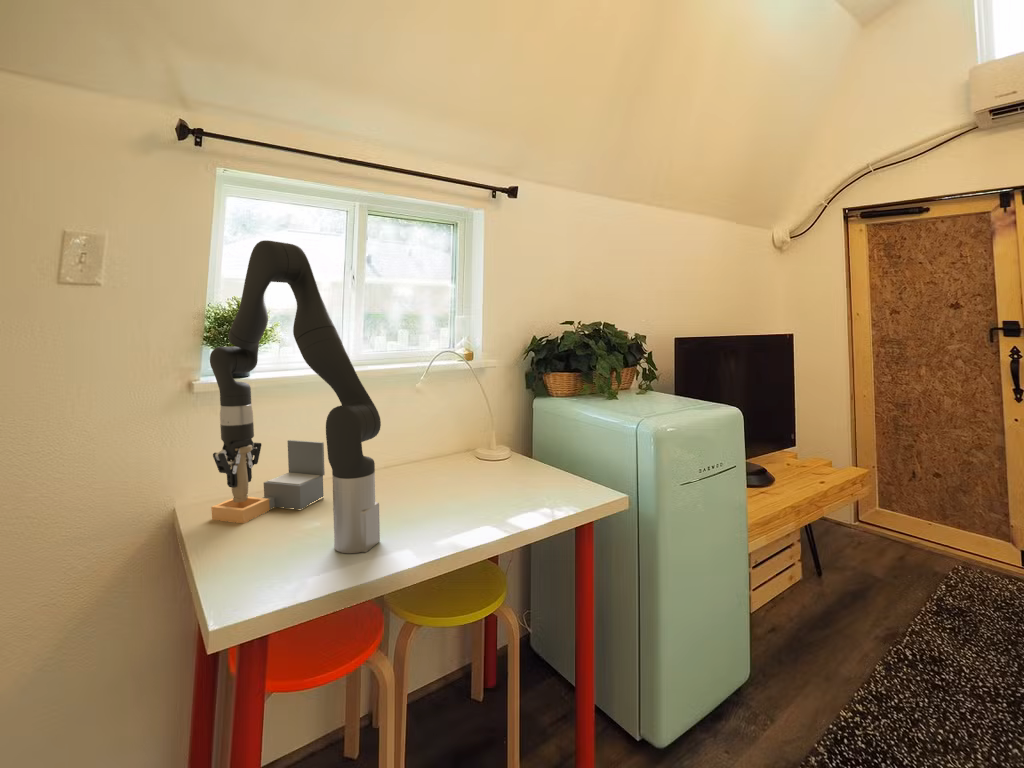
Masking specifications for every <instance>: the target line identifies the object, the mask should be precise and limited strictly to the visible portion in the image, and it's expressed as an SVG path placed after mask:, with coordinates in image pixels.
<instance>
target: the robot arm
mask: <svg viewBox="0 0 1024 768" xmlns="http://www.w3.org/2000/svg"><path fill="white" fill-rule="evenodd" d="M251 251H252V252H251V253H250V256H249V259H248V265H247V271H246V274H245V279H244V283H243V284H244V285H243V290H242V294H241V299H240V304H239V307H238V310H237V313H236V315H235V317H234V320H233V322H232V323H231V327H230V330H229V332H228V335H227V336H228V337H227V338H228V340H229V343H231V344H232V345H233V346H217V347H215V348H213V350H212V351H211V353H210V354H209V363H210V364H209V365H210V367H211V370H212V373H213V376H214V378H215V381H216V383H217V386H218V390H219V403H220V408H219V409H220V411H219V423H220V426H219V427H220V439H221V441H222V442H223V445H222V449H221V450H220V451H219V452H214V453H212V457H213V460H214V462H215V465H216V467H217V470H218V472H219V473H220V474H226V484H227V486H228V487H229V488H231V487H232V488H235V487H237V473H236V471H237V465H239V462H240V456H241V454H240V453H239V449H240V447H244V446H246V447H247V446H249V445H252V450H251V451H250V452H249V453H247V454H246V465H247V473H248V483H251V481H252V478H253V477H252V476H253V473H252V468H253V467H254V465H257V464H258V463H259V459H260V454H261V449H262V443H261V442H254V441H253V438H254V437H255V434H254V433H255V431H254V430H255V429H254V412H253V406H252V391H251V385H250V384H249V383H247V382H245V381H237V380H235V379H234V377H233V374H243V373H244V374H245V373H246V374H247V373H250V372H252V371H253V370H254V369H255V368H256V367H257V365H258V360H259V359H258V358H259V357H258V356H259V346H260V341H261V339H262V337H263V335H264V333H265V330H266V329H267V326H268V322H269V315H268V314H269V313H268V310H267V306H266V303H265V293H266V291H267V289H268V286H270V284H271V283H283V284H284V283H287V284H288V285H289V287H290V289H291V291H292V293H293V295H294V299H295V302H296V312H295V315H294V316H295V317H294V321H293V327H292V332H293V334H292V335H293V337H294V341H295V343H296V345H297V347H298V349H299V352H300V354H301V357H302V358H303V360H304V361H305V363H306V364H307V366H308V367H309V368H310V369H311V370H312V371H313V372H314V373H315V374H316V375H318V376H319V377H320V378H321V379H322V380H323V381H324V382H325V383H326V384H328V385H329V386H330V388H331V390H333V392H334V393H335V394H336V396H337V398H338V400H339V402H340V404H341V405H337V406H335V407H333V408H332V409H331V410H330V411H329V412H328V414H327V416H326V421H325V439H326V450H327V459H328V463H329V465H330V467H331V473H332V504H333V505H332V507H333V535H334V536H333V537H334V538H333V539H334V540H333V542H334V543H333V544H334V549H335V551H336V552H339V553H342V554H357V553H367V552H369V551H370V550H371V549H372V548H373V547H375V546H376V545H377V544H378V543H379V542H380V541H381V535H380V534H381V533H380V532H381V529H380V528H381V527H380V526H381V523H380V503H379V502H377V501H376V468H375V467H376V466H375V465H376V463H375V460H374V459H373V458H372V457H370V456H365V455H364V453H363V445H362V443H364V442H366V441H369V440H372V439H374V438H375V437H377V435H379V432H380V431H381V426H382V424H381V422H382V421H381V416H380V414H379V411H378V409H377V406H376V405H375V403H374V402H373V400H372V398H371V397H370V395H369V393H368V391H367V389H366V388H365V386H364V384H363V383H362V382H361V380H360V378H359V376H358V374H357V372H356V370H355V368H354V366H353V364H352V361H351V358H349V357H350V356H348V353H347V351H346V349H345V346H344V345H343V341H342V339H341V337H340V335H339V332H338V331H337V328H336V326H335V324H334V322H333V321H332V317H330V315H329V312H328V309H327V308H326V305H325V302H324V299H323V298H322V296H321V293H320V290H319V288H318V284H317V281H316V279H315V275H314V272H313V269H312V267H311V264H310V261H309V259H308V256H307V254H306V252H304V250H303V248H301V247H300V246H298V245H296V244H292V243H288V242H282V241H281V242H280V241H274V240H267V239H266V240H260V241H259V242H257V243H256V244H255V245H254V246H253V249H252V250H251ZM235 449H238V450H237V451H235ZM235 453H236V454H235ZM231 460H234V462H232V461H231ZM231 465H232V469H231ZM232 488H231V489H232Z"/></svg>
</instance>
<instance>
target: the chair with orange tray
mask: <svg viewBox="0 0 1024 768" xmlns="http://www.w3.org/2000/svg"><path fill="white" fill-rule="evenodd" d="M324 446H325V443H324V442H323V441H322V442H320V441H310V440H309V441H306V440H294V439H289V440H287V462H288V472H287V473H283V474H281V475H279V476H277V477H274V478H271V479H269V480H266V481H264V482H263V493H264V495H263V497H257V496H249V495H248V499H247V500H246V501H245V502H240V503H238V502H234V500H233V498H234V497H232V498H229V499H227V500H225V501H223V502H222V501H221V502H220V503H218V504H215V505H212V506H211V507H210V508H211V519H212V521H219V520H220V521H222V522H227V521H228V522H230V523H235V522H236V524H246V523H247V522H249V520H250V521H251V519H252V520H254V519H256V518H258V517H260V516H262V515H264V514H266V513H268V512H270V511H271V510H272V509H271V508H273V507H284V508H294V509H302V508H304V507H306V506H307V505H309V504H310V503H312V502H314V501H316V500H318V499H319V498H321V497H323V496H324V476H325V449H324V448H325V447H324ZM284 508H283V509H284ZM306 508H307V507H306ZM270 509H271V510H270ZM273 509H274V508H273ZM304 509H305V508H304ZM269 510H270V511H269ZM302 510H303V509H302ZM267 511H268V512H267ZM265 512H266V513H265ZM263 513H264V514H263ZM261 514H262V515H261ZM259 515H260V516H259ZM257 516H258V517H257ZM253 518H254V519H253ZM228 522H227V523H228Z"/></svg>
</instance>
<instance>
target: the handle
mask: <svg viewBox="0 0 1024 768" xmlns="http://www.w3.org/2000/svg"><path fill="white" fill-rule="evenodd" d="M237 450H238V449H235V451H237ZM251 450H252V445H249V446H247V447H246V446H244V447H240V449H239V453H240V454H241V456H240V462H239V465H237V471H236V473H237V487H235V488H232V487H230V488H231V494H232V496H233V497H232V498H233V500H234V502H238V503H240V502H245V501H246V500H247V499H248V496H249V495H248V494H249V482H248V473H247V465H246V454H247V453H249V452H250V451H251ZM235 454H236V453H235ZM231 461H232V462H234V460H231ZM231 469H232V465H231Z"/></svg>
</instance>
